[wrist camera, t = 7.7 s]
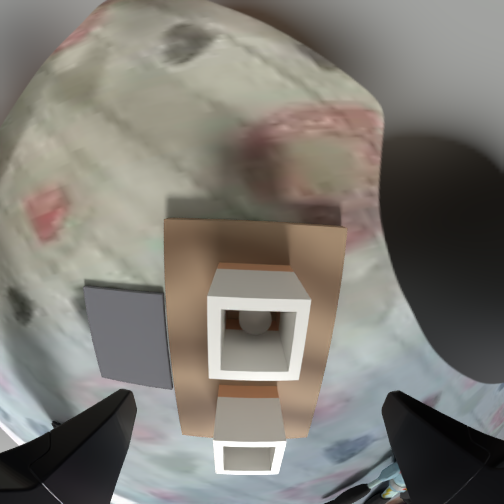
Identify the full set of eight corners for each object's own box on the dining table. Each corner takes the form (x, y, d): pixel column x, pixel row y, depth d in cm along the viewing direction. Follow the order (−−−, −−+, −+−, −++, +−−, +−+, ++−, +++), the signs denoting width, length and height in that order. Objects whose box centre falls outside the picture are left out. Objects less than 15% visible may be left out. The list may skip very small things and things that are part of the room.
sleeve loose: (289, 265, 18) (311, 299, 12) (283, 328, 19) (298, 380, 13) (219, 262, 18) (207, 296, 12) (218, 326, 19) (208, 378, 13)
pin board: (304, 428, 23) (313, 463, 18) (184, 426, 22) (176, 461, 18) (341, 226, 19) (369, 236, 14) (168, 217, 18) (145, 225, 14)
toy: (327, 542, 24) (325, 505, 16) (320, 513, 32) (312, 450, 24) (450, 491, 24) (515, 402, 16) (437, 467, 31) (485, 372, 23)
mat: (172, 386, 21) (172, 389, 21) (103, 374, 21) (101, 377, 20) (163, 292, 19) (162, 294, 19) (85, 285, 19) (83, 287, 19)
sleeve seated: (271, 422, 21) (278, 473, 15) (220, 421, 21) (215, 473, 15) (277, 386, 20) (286, 441, 14) (219, 384, 20) (213, 440, 14)
